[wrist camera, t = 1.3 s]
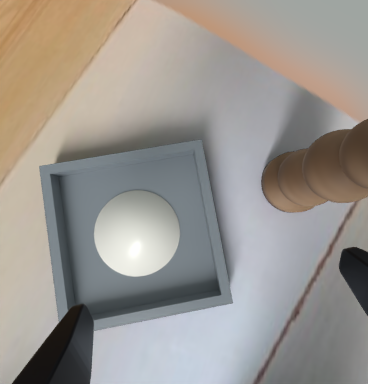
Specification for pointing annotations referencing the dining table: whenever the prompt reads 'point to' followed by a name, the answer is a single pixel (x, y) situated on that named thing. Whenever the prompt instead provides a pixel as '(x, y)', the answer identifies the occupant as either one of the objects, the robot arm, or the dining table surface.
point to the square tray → (135, 235)
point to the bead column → (320, 172)
